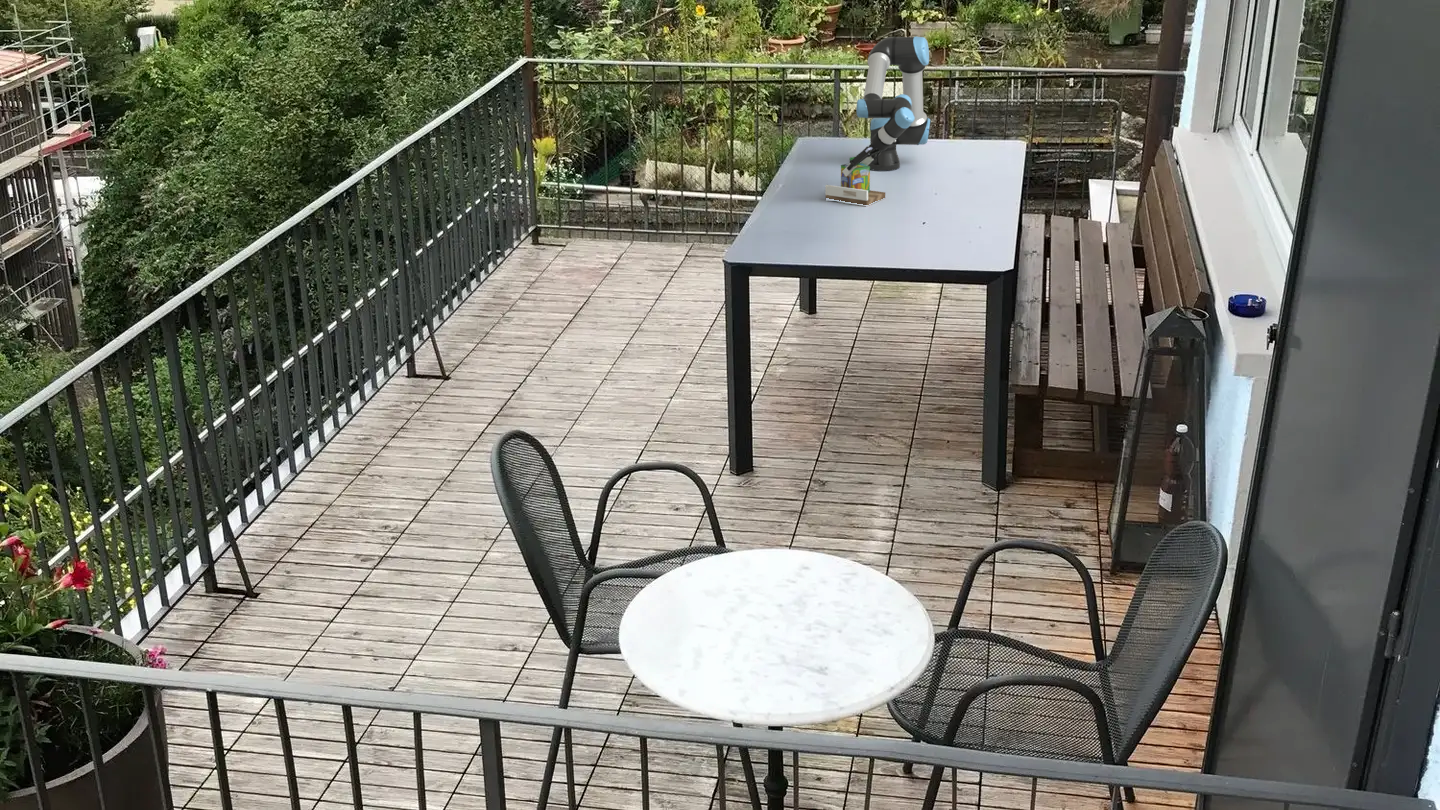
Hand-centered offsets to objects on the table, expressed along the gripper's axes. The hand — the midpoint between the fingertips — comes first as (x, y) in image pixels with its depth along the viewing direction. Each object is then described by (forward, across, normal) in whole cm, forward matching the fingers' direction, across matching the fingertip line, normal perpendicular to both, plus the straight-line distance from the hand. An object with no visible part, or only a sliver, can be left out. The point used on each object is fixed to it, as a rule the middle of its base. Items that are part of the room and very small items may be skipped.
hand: (853, 170), depth 564 cm
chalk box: (+6, 0, -8) cm, 9 cm away
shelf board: (+7, -2, -10) cm, 12 cm away
